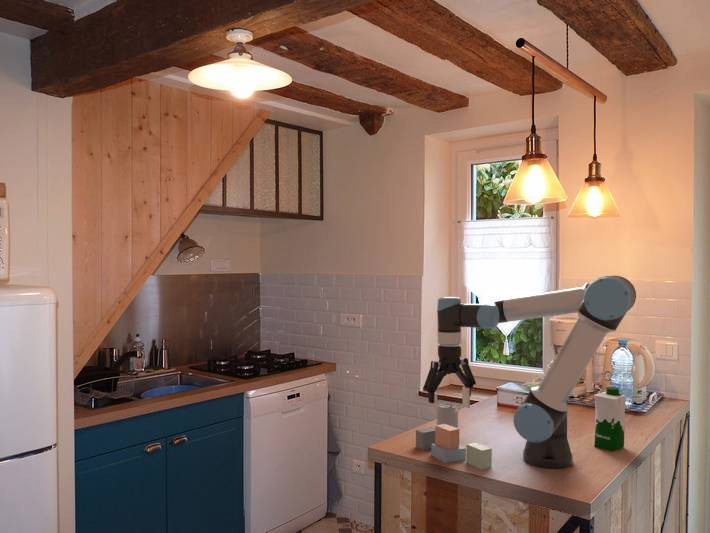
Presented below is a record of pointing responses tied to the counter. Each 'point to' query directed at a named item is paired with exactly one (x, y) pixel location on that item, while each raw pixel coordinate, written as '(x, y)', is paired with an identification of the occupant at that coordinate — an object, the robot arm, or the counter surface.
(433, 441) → the charcoal brick
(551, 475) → the counter surface
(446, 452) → the slate blue brick
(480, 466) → the sage brick
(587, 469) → the counter surface
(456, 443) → the terracotta brick
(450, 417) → the can
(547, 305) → the robot arm
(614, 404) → the milk carton
